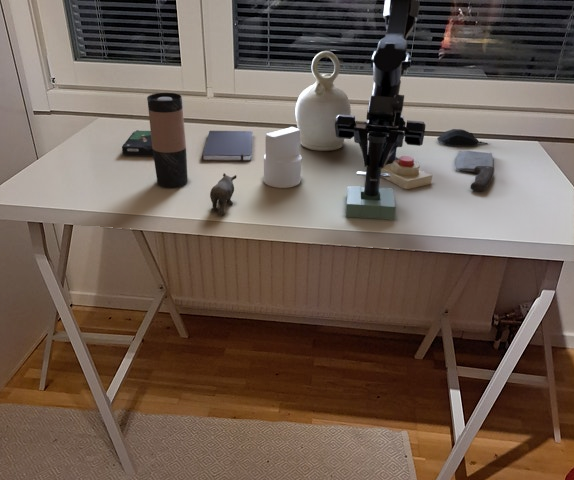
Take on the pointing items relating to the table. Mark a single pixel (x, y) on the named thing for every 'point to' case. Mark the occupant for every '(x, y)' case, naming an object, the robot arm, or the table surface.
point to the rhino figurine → (222, 193)
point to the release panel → (406, 175)
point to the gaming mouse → (458, 138)
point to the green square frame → (370, 203)
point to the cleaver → (476, 167)
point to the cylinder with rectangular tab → (283, 158)
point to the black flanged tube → (374, 163)
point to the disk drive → (138, 144)
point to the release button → (406, 161)
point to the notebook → (228, 146)
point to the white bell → (321, 109)
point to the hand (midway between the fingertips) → (373, 166)
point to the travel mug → (168, 139)
